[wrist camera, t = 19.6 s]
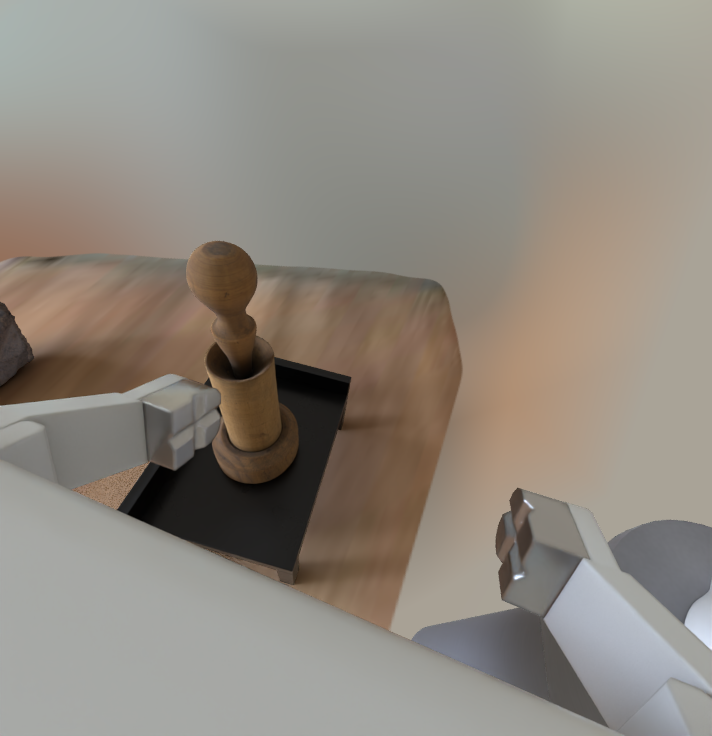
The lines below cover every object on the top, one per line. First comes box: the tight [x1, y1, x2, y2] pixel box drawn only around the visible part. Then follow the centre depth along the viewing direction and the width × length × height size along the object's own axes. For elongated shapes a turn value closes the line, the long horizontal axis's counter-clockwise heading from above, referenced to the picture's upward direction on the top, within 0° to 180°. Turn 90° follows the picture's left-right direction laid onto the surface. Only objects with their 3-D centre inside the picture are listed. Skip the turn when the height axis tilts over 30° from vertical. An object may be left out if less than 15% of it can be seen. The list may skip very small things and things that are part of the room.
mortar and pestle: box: [186, 241, 299, 484], centre depth 21 cm, size 7×6×18 cm
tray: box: [117, 357, 351, 585], centre depth 29 cm, size 12×16×8 cm
